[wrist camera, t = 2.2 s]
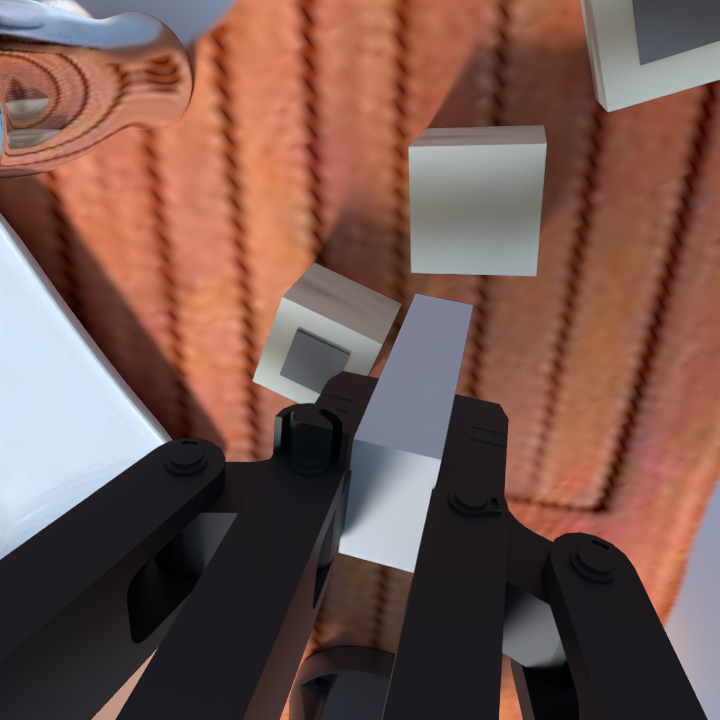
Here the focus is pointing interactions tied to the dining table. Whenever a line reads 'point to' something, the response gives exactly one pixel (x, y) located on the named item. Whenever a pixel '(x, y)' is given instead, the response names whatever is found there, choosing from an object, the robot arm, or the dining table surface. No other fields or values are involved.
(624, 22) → the marked block
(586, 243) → the dining table surface
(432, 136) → the plain block
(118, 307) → the dining table surface
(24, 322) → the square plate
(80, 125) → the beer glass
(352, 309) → the marked block
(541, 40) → the dining table surface
